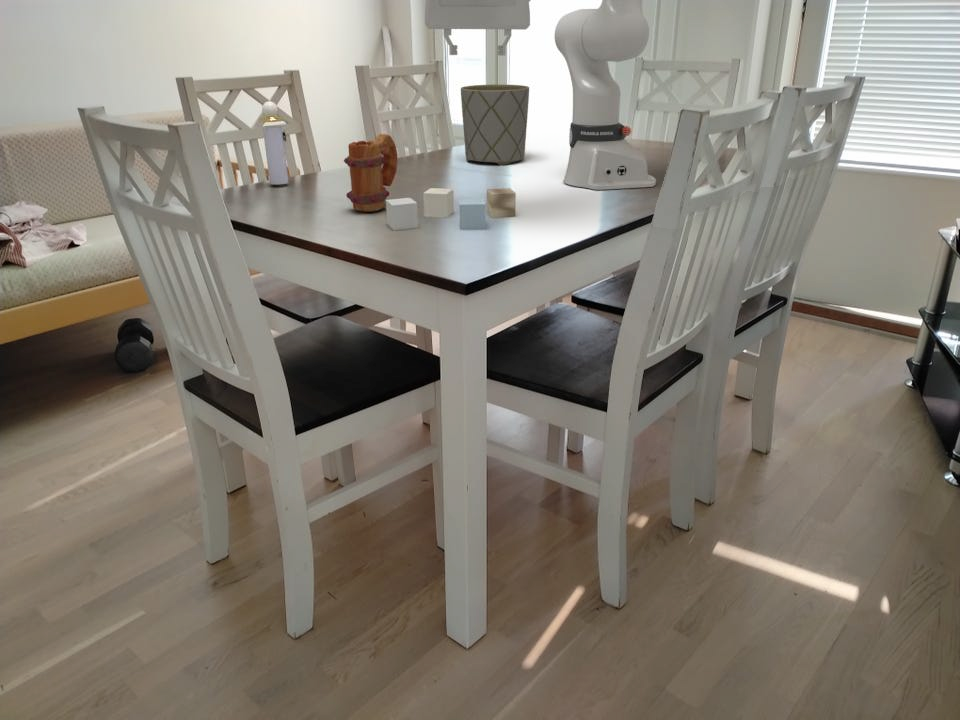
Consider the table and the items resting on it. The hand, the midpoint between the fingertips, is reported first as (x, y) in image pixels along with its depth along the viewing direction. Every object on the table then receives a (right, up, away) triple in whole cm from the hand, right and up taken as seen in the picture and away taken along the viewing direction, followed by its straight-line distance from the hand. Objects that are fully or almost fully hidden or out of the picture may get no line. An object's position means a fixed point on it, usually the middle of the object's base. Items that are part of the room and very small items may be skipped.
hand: (477, 55), depth 143 cm
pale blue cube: (-1, -33, +2) cm, 33 cm away
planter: (+5, -2, +69) cm, 69 cm away
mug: (-22, -26, +18) cm, 39 cm away
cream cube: (-8, -29, +11) cm, 32 cm away
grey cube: (-15, -33, +3) cm, 36 cm away
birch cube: (+5, -29, +11) cm, 31 cm away
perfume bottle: (-50, -16, +40) cm, 66 cm away
